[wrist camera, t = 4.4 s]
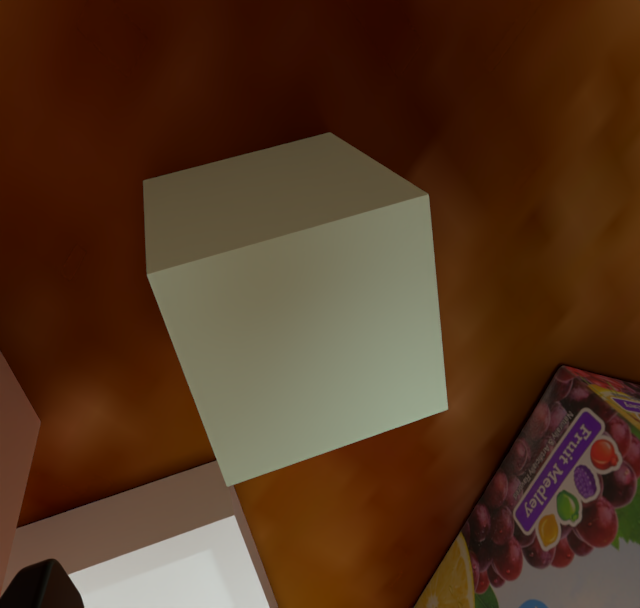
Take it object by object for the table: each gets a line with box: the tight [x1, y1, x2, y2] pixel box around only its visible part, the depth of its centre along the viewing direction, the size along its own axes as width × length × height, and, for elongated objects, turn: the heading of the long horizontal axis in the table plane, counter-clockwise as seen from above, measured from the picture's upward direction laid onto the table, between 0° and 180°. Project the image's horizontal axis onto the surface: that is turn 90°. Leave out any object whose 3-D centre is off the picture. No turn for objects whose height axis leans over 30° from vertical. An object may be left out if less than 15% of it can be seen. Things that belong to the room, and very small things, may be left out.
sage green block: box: [143, 132, 448, 487], centre depth 13 cm, size 5×5×6 cm
